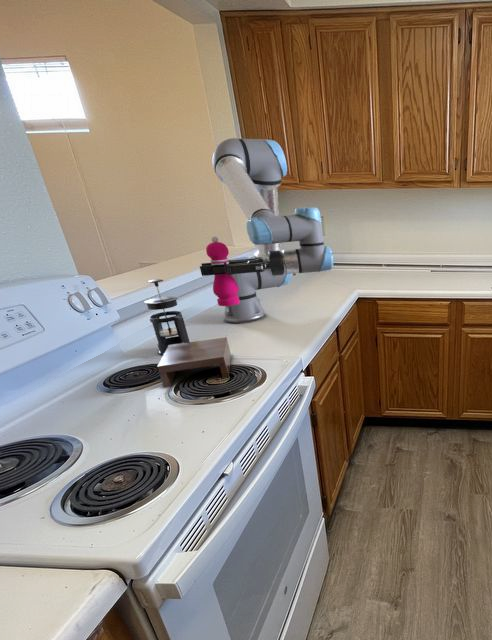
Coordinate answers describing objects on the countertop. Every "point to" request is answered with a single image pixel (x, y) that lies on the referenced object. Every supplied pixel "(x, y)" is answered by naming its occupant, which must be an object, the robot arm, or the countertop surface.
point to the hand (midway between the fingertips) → (201, 269)
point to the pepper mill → (222, 275)
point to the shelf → (194, 358)
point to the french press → (156, 321)
